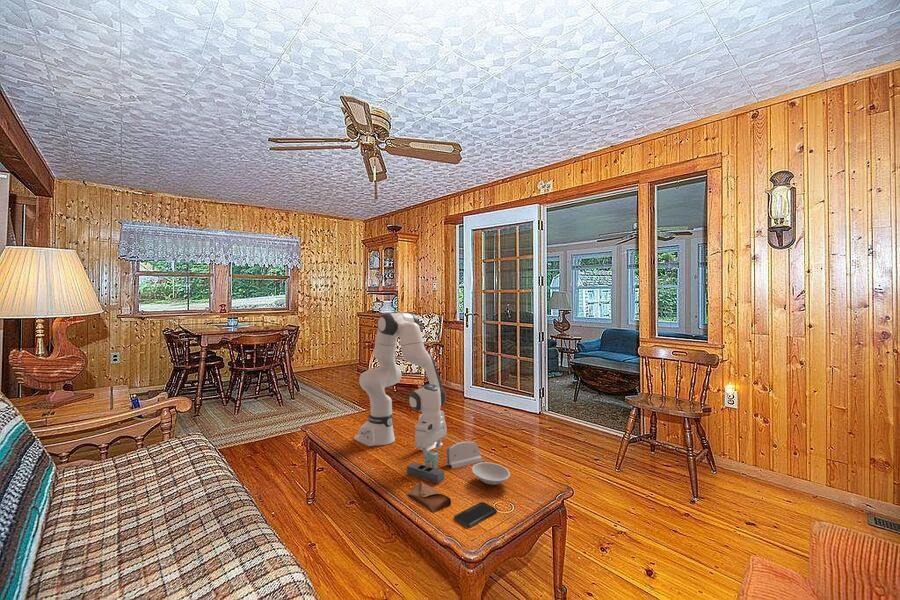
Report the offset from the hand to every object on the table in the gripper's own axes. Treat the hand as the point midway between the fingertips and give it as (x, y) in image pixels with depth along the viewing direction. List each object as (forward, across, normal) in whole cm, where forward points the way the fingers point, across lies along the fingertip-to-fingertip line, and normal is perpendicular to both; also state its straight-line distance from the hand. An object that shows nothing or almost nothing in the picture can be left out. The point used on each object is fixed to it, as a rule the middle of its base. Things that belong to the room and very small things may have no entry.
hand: (432, 451), depth 179 cm
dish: (+7, 0, +29) cm, 30 cm away
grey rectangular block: (+7, +10, +3) cm, 13 cm away
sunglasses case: (+8, +25, +15) cm, 30 cm away
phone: (+8, +24, +35) cm, 44 cm away
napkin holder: (+7, -11, +10) cm, 17 cm away
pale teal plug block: (+6, 0, -1) cm, 7 cm away
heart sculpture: (+6, -19, -14) cm, 24 cm away
